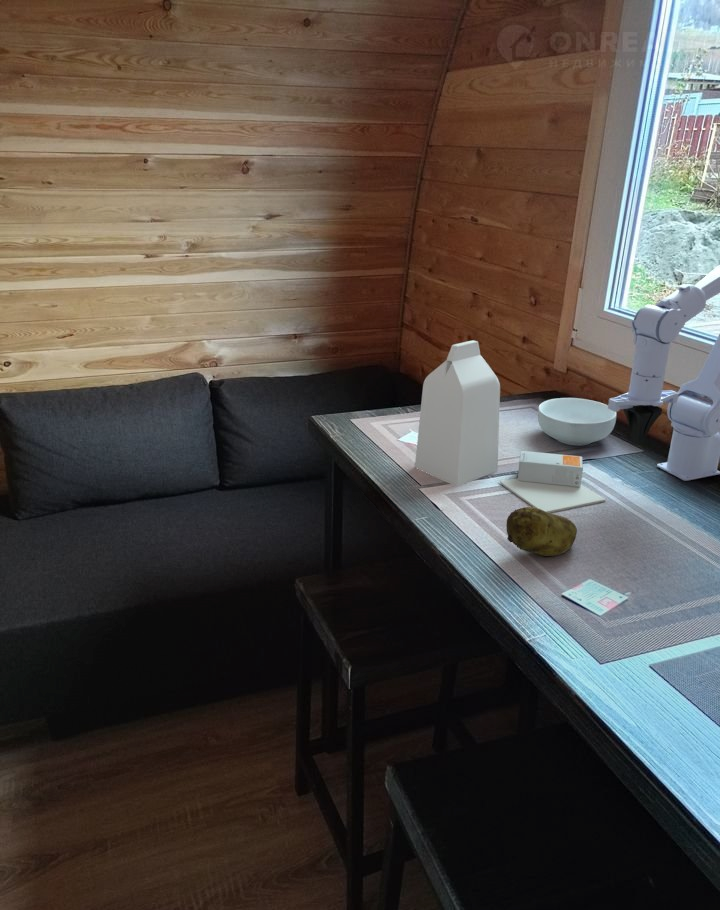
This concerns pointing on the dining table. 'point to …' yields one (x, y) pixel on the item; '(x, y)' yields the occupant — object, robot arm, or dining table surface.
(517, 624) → the dining table surface
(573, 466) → the skincare box
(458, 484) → the milk
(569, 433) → the cereal bowl
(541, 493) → the mat
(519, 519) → the potato
